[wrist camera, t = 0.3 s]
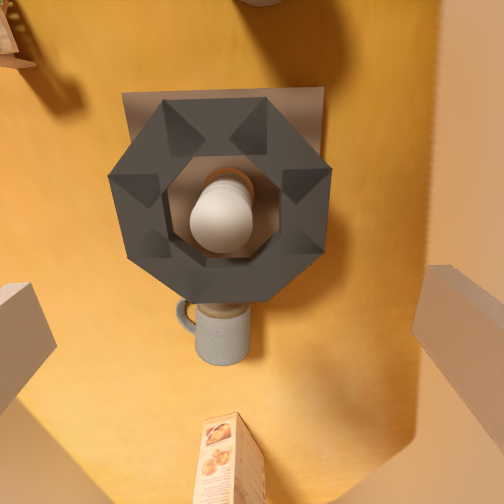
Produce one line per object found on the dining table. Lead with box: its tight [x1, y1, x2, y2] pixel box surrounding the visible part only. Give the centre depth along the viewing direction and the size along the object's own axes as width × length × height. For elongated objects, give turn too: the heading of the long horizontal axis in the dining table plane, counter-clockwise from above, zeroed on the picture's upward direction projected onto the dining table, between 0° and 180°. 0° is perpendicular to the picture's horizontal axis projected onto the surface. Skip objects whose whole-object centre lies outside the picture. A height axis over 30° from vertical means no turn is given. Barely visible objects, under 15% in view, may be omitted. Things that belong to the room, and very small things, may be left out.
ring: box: [107, 96, 332, 304], centre depth 26 cm, size 18×18×2 cm
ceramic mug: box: [176, 298, 251, 366], centre depth 40 cm, size 11×8×8 cm
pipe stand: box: [121, 87, 325, 265], centre depth 29 cm, size 20×20×13 cm
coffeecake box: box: [192, 412, 266, 504], centre depth 48 cm, size 15×7×20 cm, turn 20°
